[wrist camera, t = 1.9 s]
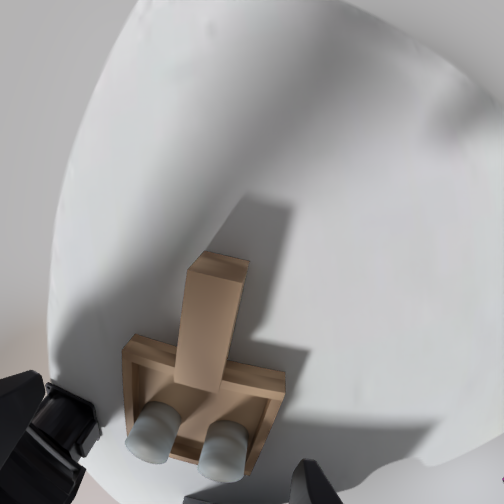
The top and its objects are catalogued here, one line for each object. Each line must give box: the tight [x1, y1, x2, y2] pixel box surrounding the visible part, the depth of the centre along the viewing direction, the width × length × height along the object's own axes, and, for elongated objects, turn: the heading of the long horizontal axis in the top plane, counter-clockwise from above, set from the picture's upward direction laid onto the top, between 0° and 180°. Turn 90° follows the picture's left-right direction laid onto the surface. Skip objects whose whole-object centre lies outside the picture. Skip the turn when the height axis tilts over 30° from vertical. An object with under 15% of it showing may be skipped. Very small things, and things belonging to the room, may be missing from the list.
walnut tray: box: [122, 251, 285, 483], centre depth 20 cm, size 12×20×6 cm, turn 168°
